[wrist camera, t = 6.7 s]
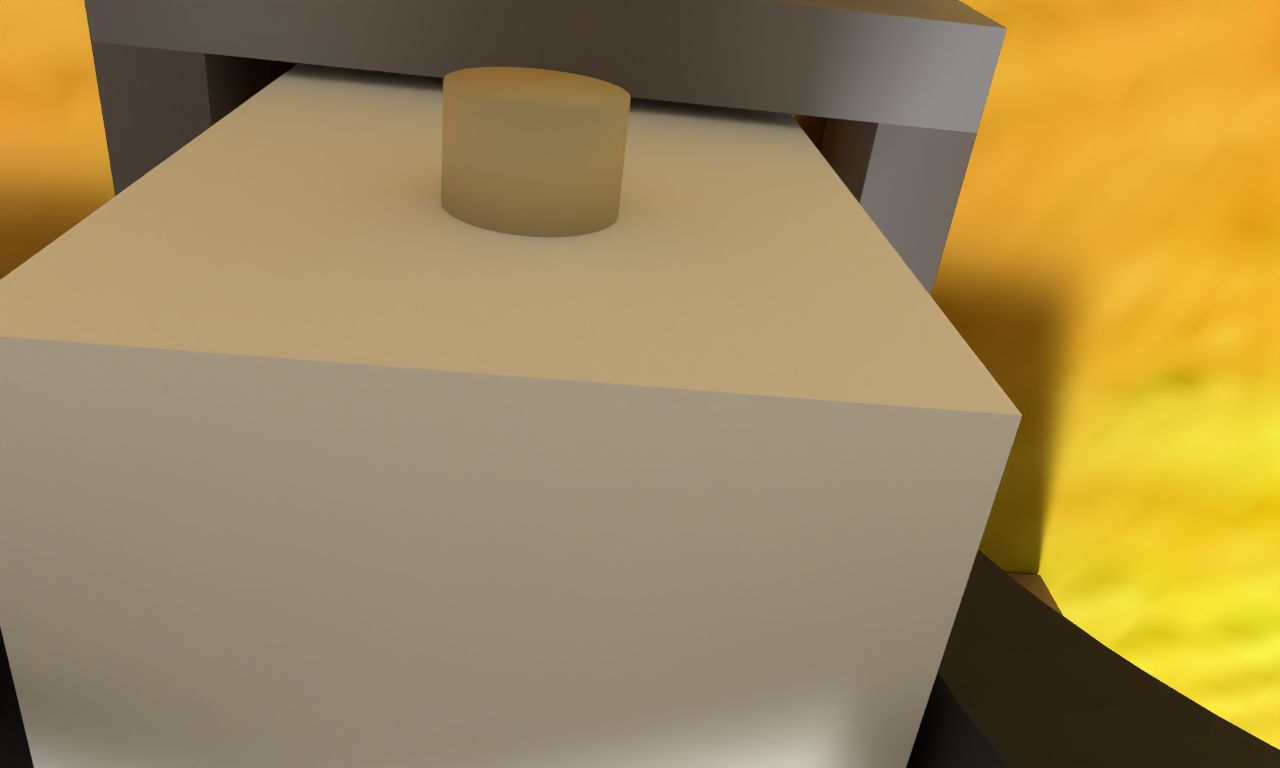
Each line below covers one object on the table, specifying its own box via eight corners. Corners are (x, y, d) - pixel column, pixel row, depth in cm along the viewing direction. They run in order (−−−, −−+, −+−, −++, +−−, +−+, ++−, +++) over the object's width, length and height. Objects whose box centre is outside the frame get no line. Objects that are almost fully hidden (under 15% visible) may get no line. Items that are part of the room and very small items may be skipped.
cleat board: (-23, 588, 15) (-273, 911, 11) (-236, -146, 10) (-858, -98, 6) (1010, 644, 16) (1160, 949, 12) (1263, 29, 11) (1664, 172, 7)
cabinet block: (332, 517, 13) (110, 1091, 7) (311, -30, 10) (-115, 149, 4) (703, 540, 14) (796, 1100, 8) (792, 23, 11) (1073, 261, 4)
